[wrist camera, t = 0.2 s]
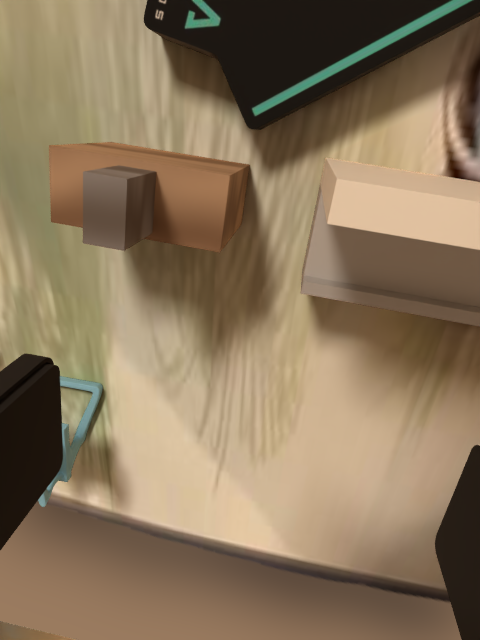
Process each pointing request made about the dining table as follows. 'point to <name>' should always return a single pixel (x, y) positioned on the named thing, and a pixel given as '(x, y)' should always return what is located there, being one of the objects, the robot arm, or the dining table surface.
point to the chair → (80, 435)
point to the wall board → (396, 241)
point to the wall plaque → (301, 42)
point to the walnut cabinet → (146, 195)
